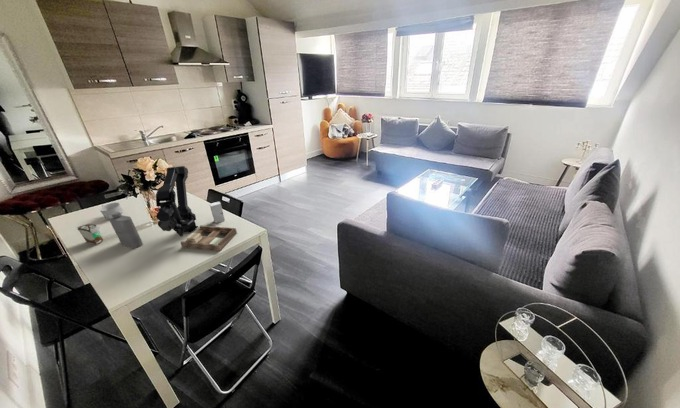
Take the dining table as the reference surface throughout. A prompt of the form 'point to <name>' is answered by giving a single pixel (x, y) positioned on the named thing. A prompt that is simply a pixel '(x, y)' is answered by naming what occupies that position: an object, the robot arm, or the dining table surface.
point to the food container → (90, 233)
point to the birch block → (194, 237)
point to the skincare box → (217, 212)
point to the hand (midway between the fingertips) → (181, 236)
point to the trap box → (211, 238)
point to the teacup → (110, 209)
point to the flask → (125, 230)
